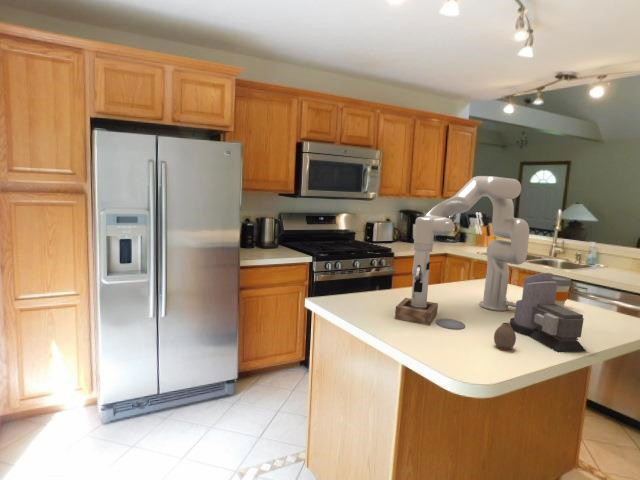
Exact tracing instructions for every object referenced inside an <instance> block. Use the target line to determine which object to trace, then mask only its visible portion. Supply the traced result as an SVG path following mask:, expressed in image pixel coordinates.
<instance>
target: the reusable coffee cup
mask: <svg viewBox="0 0 640 480" xmlns="http://www.w3.org/2000/svg"><path fill="white" fill-rule="evenodd" d="M552 281H553V282H556V283H557V290H556V297H555V304H557V305H559V306H562V307H564V306H565V303H566V301H567V300H568V296H569V293H570V291H569V290H570V287H571V286H572V279H571V278H569V277H568V276H563V275H558V274H553V278H552ZM564 308H565V307H564Z"/></svg>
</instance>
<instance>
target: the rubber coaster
mask: <svg viewBox="0 0 640 480" xmlns="http://www.w3.org/2000/svg"><path fill="white" fill-rule="evenodd" d="M435 324H436V325H437V326H439V327H440V328H444V329H448V330H456V331H457V330H459V331H460V330H463V329H465V327H466V324H465V323H464V322H463V321H459V320H457V319H454V318H453V319H452V318H438V319H436V321H435Z"/></svg>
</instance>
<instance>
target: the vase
mask: <svg viewBox="0 0 640 480" xmlns="http://www.w3.org/2000/svg"><path fill="white" fill-rule="evenodd" d="M516 340H517V335H516V332H514V330H513V329H512V327H511V325H510V322H502V324H501V325H499V326H498V327H497V328H496V329H495V332H494V335H493V342H494V344H495V346H496V347H497V348H498V349H500V350H504V351H508V350H512V349H513V348H514V347H515V344H516Z"/></svg>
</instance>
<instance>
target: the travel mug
mask: <svg viewBox="0 0 640 480" xmlns="http://www.w3.org/2000/svg"><path fill="white" fill-rule="evenodd" d="M430 266H431V265H430V261H429V263H428V264H427V267H426V272H425V275H424V276H423V278H422V283H423V285H422V292H421V293H420V292H414V282H415V275H416V272H415V274H414V275H413V274H412V287H411V288H412V289H411V298H410V299H411V307H412V308H417V309H423V310H424V309H426V306H427V305H426V304H427V302H428V292H429V291H428V290H429V279H430V276H429V275H430ZM419 275H422V274H421V273H420V274H419ZM420 279H421V277H420Z"/></svg>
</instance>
